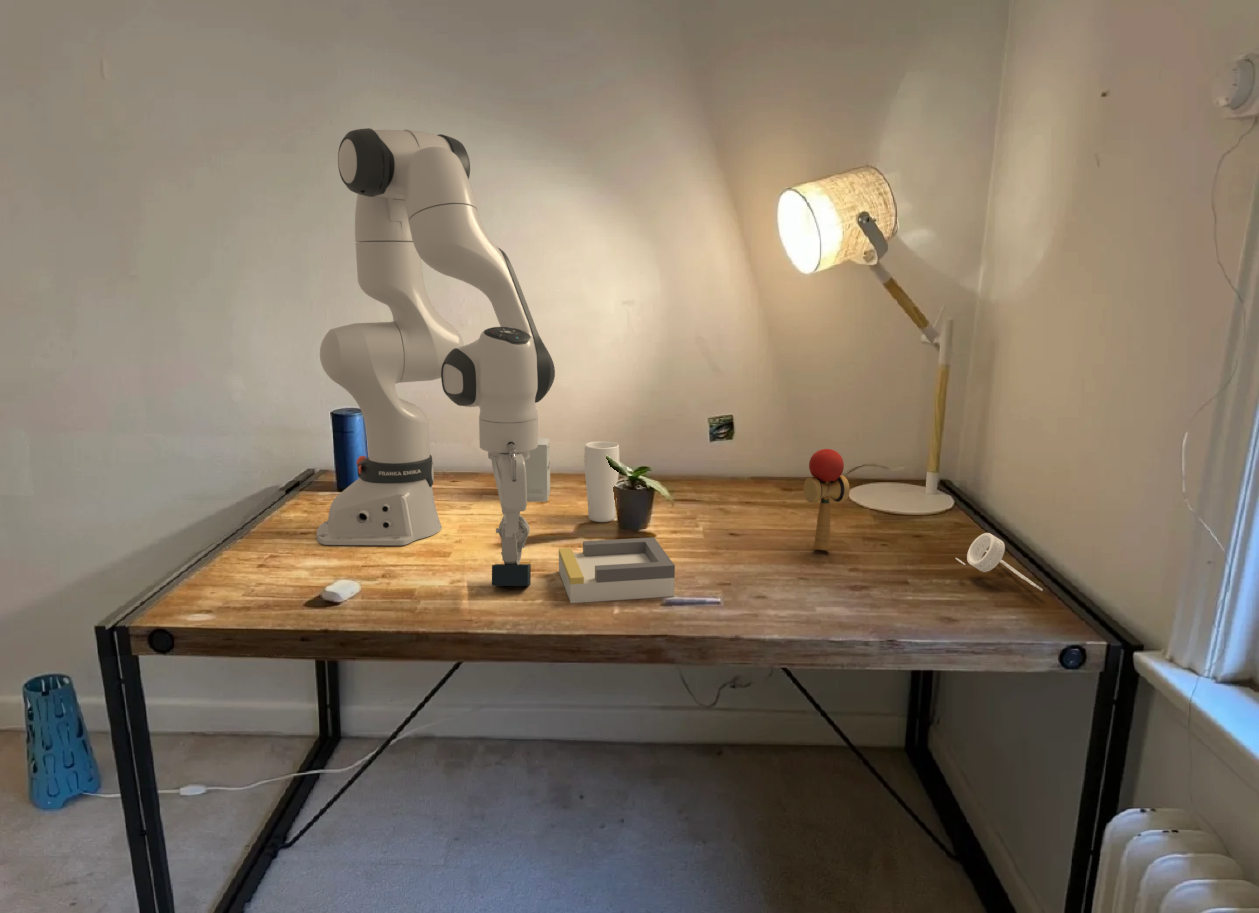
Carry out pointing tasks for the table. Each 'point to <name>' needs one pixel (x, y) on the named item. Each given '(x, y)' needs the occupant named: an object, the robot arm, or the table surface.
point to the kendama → (825, 490)
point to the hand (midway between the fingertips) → (509, 522)
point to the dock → (612, 587)
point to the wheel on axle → (989, 555)
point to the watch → (512, 557)
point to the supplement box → (538, 472)
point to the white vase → (600, 480)
